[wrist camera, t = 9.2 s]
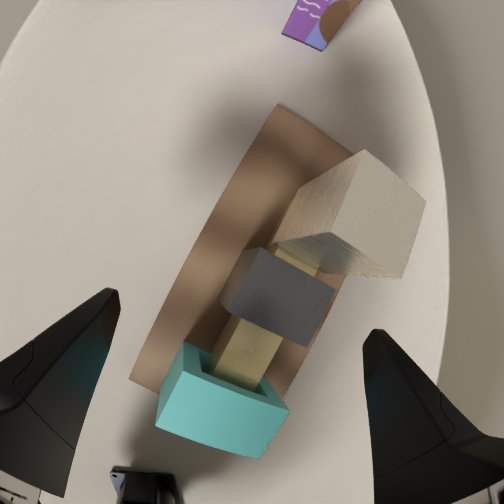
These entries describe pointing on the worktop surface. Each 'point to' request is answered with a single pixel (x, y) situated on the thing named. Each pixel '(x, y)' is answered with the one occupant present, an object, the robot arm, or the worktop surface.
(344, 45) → the worktop surface
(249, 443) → the socket block
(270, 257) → the sleeve
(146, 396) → the worktop surface
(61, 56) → the worktop surface
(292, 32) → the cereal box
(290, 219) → the white-capped post
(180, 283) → the base board
